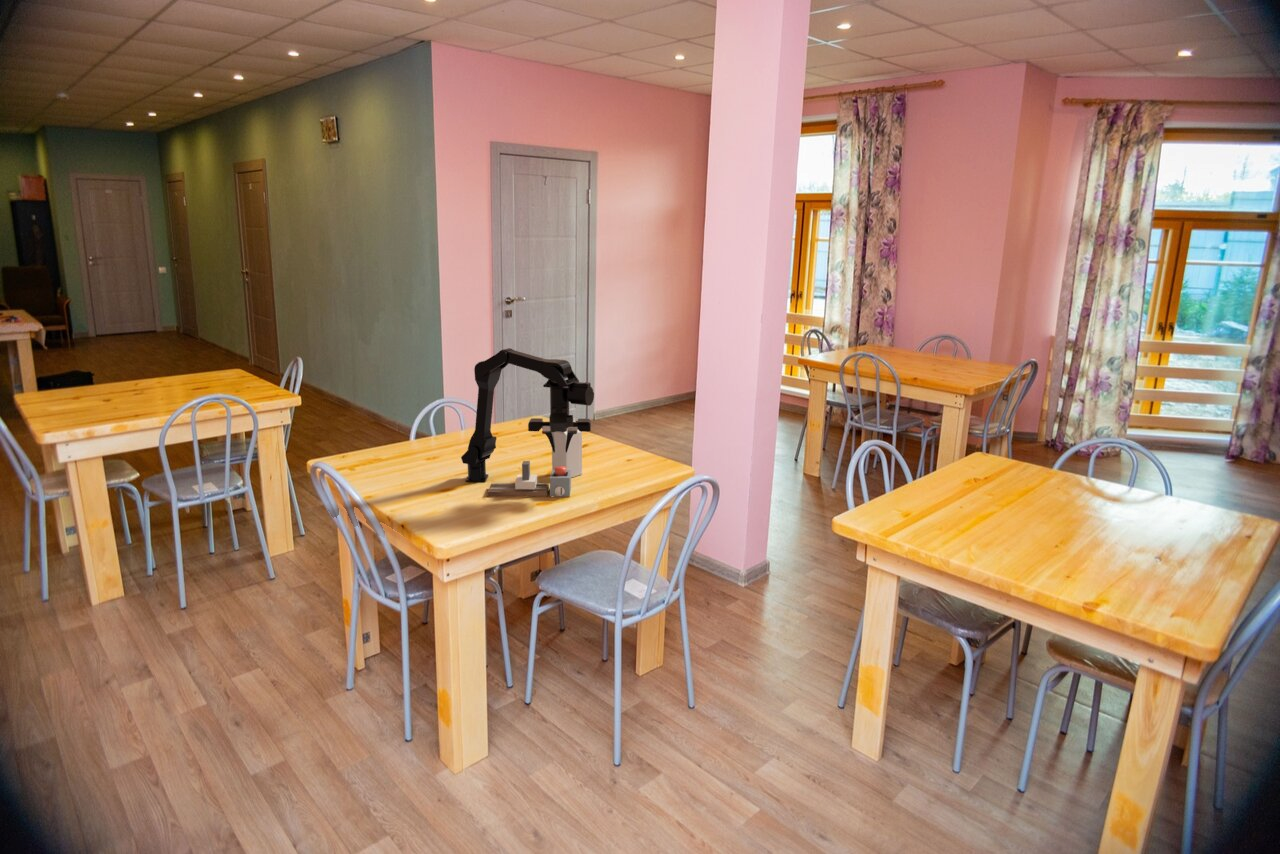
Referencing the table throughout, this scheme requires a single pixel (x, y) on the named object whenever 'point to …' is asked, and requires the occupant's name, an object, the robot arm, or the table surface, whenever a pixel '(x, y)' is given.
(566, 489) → the end cabinet
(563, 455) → the milk carton
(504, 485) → the rail
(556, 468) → the button
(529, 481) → the carriage
